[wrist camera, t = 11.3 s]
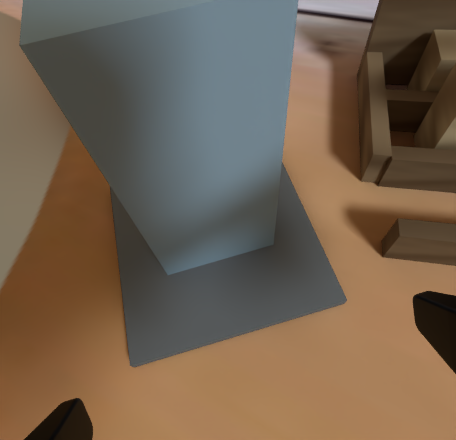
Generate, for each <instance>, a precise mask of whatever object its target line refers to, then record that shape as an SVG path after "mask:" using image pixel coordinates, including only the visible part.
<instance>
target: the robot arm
mask: <svg viewBox="0 0 456 440" xmlns="http://www.w3.org/2000/svg"><path fill="white" fill-rule="evenodd" d="M413 308H414V317H415V323H416V326H417V328H418V330H419V331H420V332H421V334H422V335H423V336H424V337H425V338H426V340H427V341H428V342H429V343H430V344H431V345H432V347H433V348H434V349H435V350H436V351H437V353H438V354H439V355H440V356H441V357H442V358H443V360H444V361H445V362H446V363H447V364H448V366H449V367H450V368H451V369H452V370H453V371H454V373H455V374H456V296H454V295H448V294H443V293H438V292H432V291H426V292H422V293H419V294H416V295H414V297H413ZM92 437H93V426H92V422H91V420H90V418H89V415H88V413H87V411H86V408H85V406H84V404H83V402H82V400H81V399H79V398H75V399H72V400H68V401H65V402H63V403H61V404H60V405H59V406H58V407H57V408H56V409H55V410H54V411H53V412H52V413H51V414H50V415H49V416H48V417H47V418H46V419H45V420H44V421H42V422H41V423H40V424H39V425H38V426H37V427H36V428H35V429H34V430H33V431H32V432H31V433H30V434H29V435H28V436H27V437H26V438H25V439H24V440H92Z"/></svg>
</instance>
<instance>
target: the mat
mask: <svg viewBox="0 0 456 440" xmlns="http://www.w3.org/2000/svg"><path fill="white" fill-rule="evenodd" d="M110 191H111V200H112V209H113V218H114V227H115V236H116V244H117V253H118V262H119V271H120V280H121V289H122V298H123V306H124V315H125V324H126V333H127V342H128V351H129V360H130V366H132V367H137V366H140V365H143V364H147V363H150V362H153V361H157V360H160V359H163V358H166V357H170V356H173V355H176V354H180V353H183V352H186V351H190V350H193V349H196V348H199V347H203V346H206V345H209V344H213V343H216V342H219V341H223V340H226V339H229V338H232V337H236V336H239V335H242V334H246V333H249V332H252V331H256V330H259V329H262V328H265V327H269V326H272V325H275V324H279V323H282V322H285V321H288V320H292V319H295V318H298V317H302V316H305V315H308V314H312V313H315V312H318V311H321V310H325V309H328V308H331V307H335V306H338V305H341V304H344V303H345V302H346V301H347V299H346V297H345V295H344V292H343V290H342V288H341V286H340V284H339V282H338V280H337V278H336V275H335V273H334V271H333V269H332V267H331V265H330V263H329V261H328V258H327V256H326V254H325V252H324V250H323V248H322V246H321V244H320V241H319V239H318V237H317V235H316V233H315V231H314V229H313V227H312V224H311V222H310V220H309V218H308V216H307V214H306V212H305V210H304V207H303V205H302V203H301V201H300V199H299V197H298V195H297V193H296V190H295V188H294V186H293V184H292V182H291V180H290V178H289V176H288V173H287V171H286V169H285V167H284V165H283V163H282V165H281V175H280V185H279V195H278V205H277V215H276V225H275V234H274V244H273V245H270V246H267V247H263V248H260V249H257V250H253V251H250V252H246V253H243V254H239V255H236V256H232V257H229V258H225V259H222V260H219V261H215V262H212V263H208V264H205V265H201V266H198V267H194V268H191V269H187V270H184V271H181V272H177V273H174V274H170V275H167V273H166V272H165V270H164V268H163V267H162V265H161V264H160V262H159V261H158V259H157V258H156V256H155V255H154V253H153V251H152V250H151V248H150V247H149V245H148V244H147V242H146V241H145V239H144V237H143V236H142V234H141V233H140V231H139V230H138V228H137V227H136V225H135V224H134V222H133V220H132V219H131V217H130V216H129V214H128V213H127V211H126V210H125V208H124V207H123V205H122V203H121V202H120V200H119V199H118V197H117V196H116V194H115V193H114V191H113V189H112V188H111V186H110Z"/></svg>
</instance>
